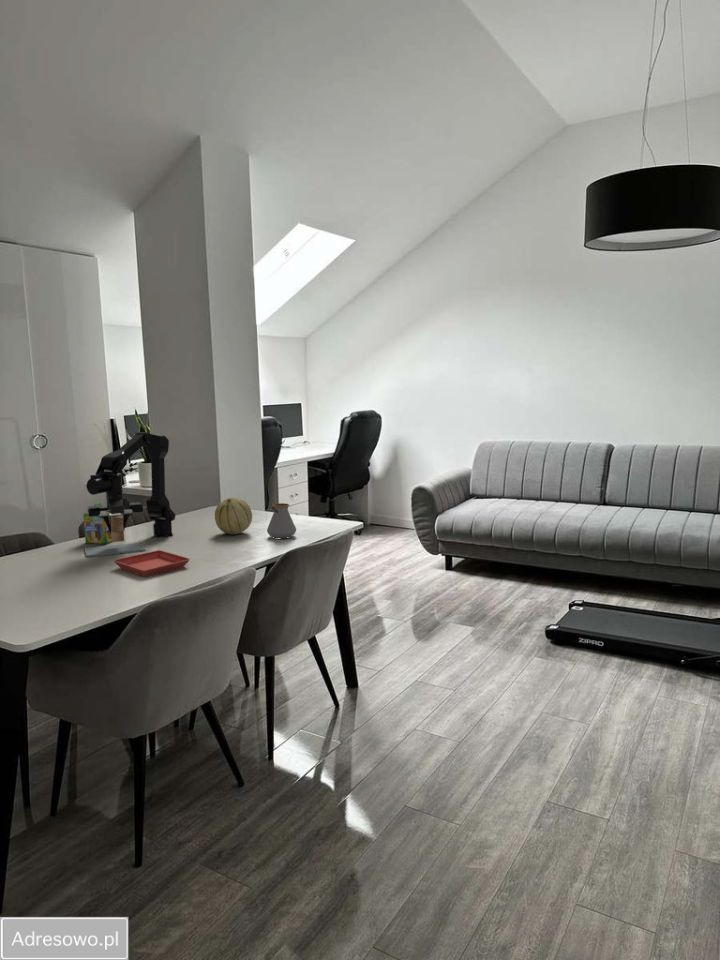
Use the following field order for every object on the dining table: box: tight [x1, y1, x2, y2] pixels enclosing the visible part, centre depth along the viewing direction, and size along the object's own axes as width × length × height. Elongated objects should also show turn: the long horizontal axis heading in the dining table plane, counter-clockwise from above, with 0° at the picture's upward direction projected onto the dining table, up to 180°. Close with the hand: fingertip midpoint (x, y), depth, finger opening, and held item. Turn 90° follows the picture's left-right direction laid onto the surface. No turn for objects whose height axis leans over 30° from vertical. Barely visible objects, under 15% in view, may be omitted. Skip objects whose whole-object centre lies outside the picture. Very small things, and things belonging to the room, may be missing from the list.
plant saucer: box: [113, 549, 191, 577], centre depth 235 cm, size 18×18×3 cm
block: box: [109, 513, 125, 543], centre depth 258 cm, size 4×8×9 cm, turn 24°
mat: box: [83, 542, 146, 558], centre depth 259 cm, size 20×12×1 cm, turn 114°
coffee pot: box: [266, 502, 297, 539], centre depth 272 cm, size 21×12×15 cm, turn 174°
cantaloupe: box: [214, 497, 253, 535], centre depth 283 cm, size 15×15×15 cm
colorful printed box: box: [83, 502, 113, 545], centre depth 272 cm, size 9×9×15 cm
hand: (116, 532), depth 258 cm, fingers closed on block, 4 cm apart
